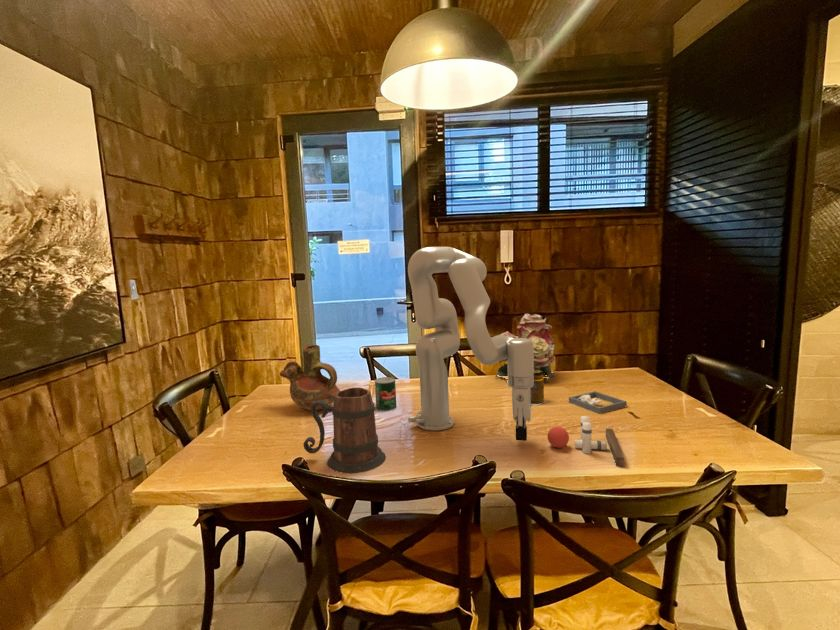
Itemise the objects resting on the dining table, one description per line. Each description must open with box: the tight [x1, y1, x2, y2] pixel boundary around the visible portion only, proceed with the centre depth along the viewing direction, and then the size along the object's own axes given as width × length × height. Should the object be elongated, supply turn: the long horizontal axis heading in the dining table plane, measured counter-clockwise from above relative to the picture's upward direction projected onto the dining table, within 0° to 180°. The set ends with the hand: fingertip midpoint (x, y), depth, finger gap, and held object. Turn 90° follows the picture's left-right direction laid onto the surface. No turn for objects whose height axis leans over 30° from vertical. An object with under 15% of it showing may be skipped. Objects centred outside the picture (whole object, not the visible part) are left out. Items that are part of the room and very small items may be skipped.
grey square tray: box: [568, 390, 628, 415], centre depth 167 cm, size 14×15×2 cm
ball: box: [547, 426, 570, 449], centre depth 132 cm, size 6×6×6 cm
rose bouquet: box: [495, 313, 556, 384], centre depth 202 cm, size 26×29×30 cm
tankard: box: [303, 386, 387, 474], centre depth 129 cm, size 24×17×20 cm
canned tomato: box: [374, 376, 397, 412], centre depth 172 cm, size 8×8×11 cm
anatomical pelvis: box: [578, 395, 603, 406], centre depth 167 cm, size 8×4×7 cm
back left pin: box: [580, 415, 591, 440], centre depth 133 cm, size 2×2×8 cm
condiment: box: [530, 370, 549, 407], centre depth 172 cm, size 7×8×12 cm
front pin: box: [574, 439, 608, 451], centre depth 131 cm, size 2×2×8 cm
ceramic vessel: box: [279, 344, 341, 412], centre depth 174 cm, size 17×26×25 cm, turn 76°
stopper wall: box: [605, 428, 626, 467], centre depth 129 cm, size 2×20×2 cm, turn 165°
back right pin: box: [581, 422, 593, 455], centre depth 128 cm, size 2×2×8 cm
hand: (521, 439), depth 136 cm, fingers closed
